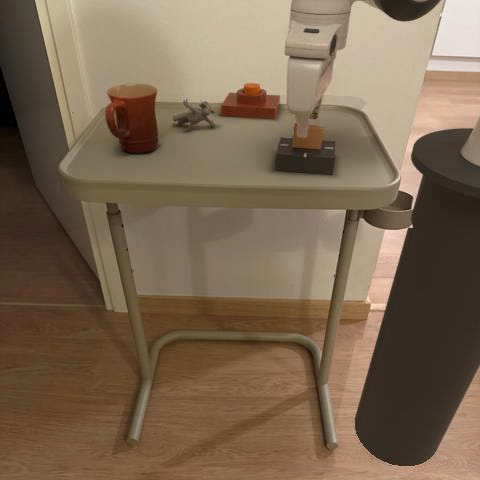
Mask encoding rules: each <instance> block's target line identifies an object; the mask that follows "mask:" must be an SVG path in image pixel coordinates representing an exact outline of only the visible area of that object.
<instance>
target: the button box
mask: <svg viewBox="0 0 480 480" xmlns="http://www.w3.org/2000/svg"><path fill="white" fill-rule="evenodd" d="M280 105H281V95H280V94H267V90H266V89H264V88H260V93H259V94H245V93H244V87H243V88H239V89H237V91H236V92H228V94H227V96H226V97H225V98H224V100H223V102H222V103H221V104H220V113H221V114H220V115H221V117H236V118H248V119H249V118H250V119H265V120H266V119H267V120H276V116H277V114H278V111H279V108H280Z"/></svg>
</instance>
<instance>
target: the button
mask: <svg viewBox="0 0 480 480" xmlns="http://www.w3.org/2000/svg"><path fill="white" fill-rule="evenodd" d="M243 88H244V93H245V94H259V93H260V89H261V84H259V83H256V82H248V83H244V84H243Z"/></svg>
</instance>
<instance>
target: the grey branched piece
mask: <svg viewBox="0 0 480 480" xmlns="http://www.w3.org/2000/svg"><path fill="white" fill-rule="evenodd" d="M182 103H183V106H184V107H185V108H188V111H187V112H181V113H177V114H172V120H173V122H177V125H178V126H182V125H185V124H189V126H188V127H187V129H186V132H188V131H189V130H190V128H191V127H192V126H196V125H198V124H200V123H201V122H203V121H205V122H207V123H208V124H209V125H210V126H211V127H212V128H216V126H217V124H216V123H215V122H214V119H210V118H208V116H209V115H211V114H216V112H215V110H214V109H213V108H212V107H211V104H210V103H209V102H208V100H204V101H203V97H201V99H200V101H199V104H198V106H199V107H200V108H197V107H194V106H191V105H190V104H189V102H188V99H187V98H186V99H183V101H182Z"/></svg>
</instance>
